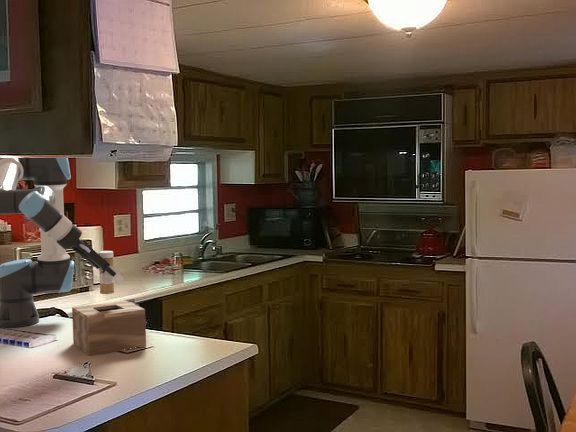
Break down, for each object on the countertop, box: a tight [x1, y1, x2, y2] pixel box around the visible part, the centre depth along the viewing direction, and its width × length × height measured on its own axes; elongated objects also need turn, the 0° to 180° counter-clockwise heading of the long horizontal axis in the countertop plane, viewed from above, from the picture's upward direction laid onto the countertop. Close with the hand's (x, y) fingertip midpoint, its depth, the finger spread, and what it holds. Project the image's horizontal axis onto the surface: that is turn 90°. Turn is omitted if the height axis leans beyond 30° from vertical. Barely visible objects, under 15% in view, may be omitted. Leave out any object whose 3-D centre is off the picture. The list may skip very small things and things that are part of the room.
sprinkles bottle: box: [98, 250, 115, 295], centre depth 219 cm, size 5×5×14 cm
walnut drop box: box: [71, 300, 147, 357], centre depth 220 cm, size 18×18×12 cm
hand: (118, 280), depth 221 cm, fingers closed on sprinkles bottle, 4 cm apart
